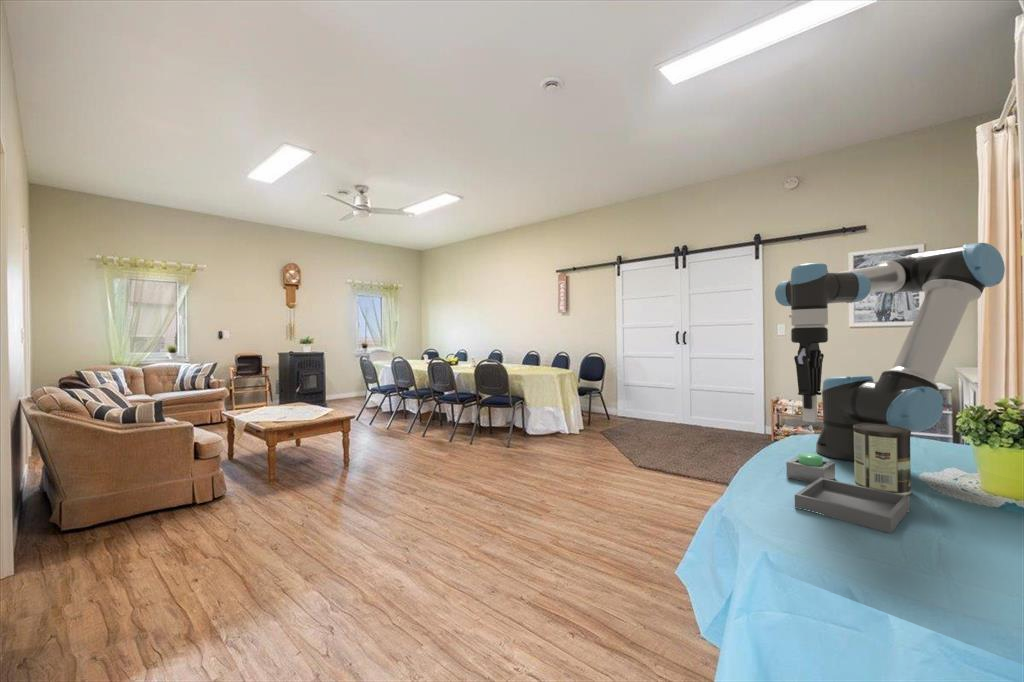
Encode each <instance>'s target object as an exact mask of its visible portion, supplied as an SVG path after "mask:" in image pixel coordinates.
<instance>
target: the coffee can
mask: <svg viewBox="0 0 1024 682" xmlns="http://www.w3.org/2000/svg"><path fill="white" fill-rule="evenodd" d="M853 429H854V461H853V462H854V465H853V467H854V469H853V470H854V483H853V485H858V486H863V487H867V488H872V489H877V490H882V491H886V492H891V493H896V494H901V495H905V496H910V495H911V494H912V488H911V487H912V483H911V482H912V481H911V480H912V479H911V477H912V476H911V475H912V473H911V472H912V471H911V469H912V467H911V434H912V431H911V430H909V429H906V428H903V427H898V426H892V425H883V424H856V425H853Z"/></svg>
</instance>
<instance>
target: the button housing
mask: <svg viewBox="0 0 1024 682" xmlns="http://www.w3.org/2000/svg"><path fill="white" fill-rule="evenodd" d="M785 464H786V465H785V466H786V478H787V477H788V478H787V479H790V478H792V479H791V480H795V479H796V480H795V481H799V480H800V481H799V482H804V481H805V482H804V483H808V482H809V483H810V484H811V483H813V482H814V481H816V480H817V479H819V478H825V479H829V480H835V479H836V462H835V461H830V460H825V459H823V465H822V466H821V467H817V466H812V465H807V464H801V463H799V455H798V456H794V457H793V458H791V459H790V460H788V461H786V462H785Z"/></svg>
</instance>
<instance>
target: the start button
mask: <svg viewBox="0 0 1024 682" xmlns="http://www.w3.org/2000/svg"><path fill="white" fill-rule="evenodd" d="M798 456H799V463H801V464H807V465H812V466H817V467H821V466H822V465H823V460H824V459H823V455H819V454H813V453H809V452H808V453H799V454H798Z"/></svg>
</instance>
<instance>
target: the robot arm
mask: <svg viewBox="0 0 1024 682" xmlns="http://www.w3.org/2000/svg"><path fill="white" fill-rule="evenodd" d="M1005 268H1006V267H1005V263H1004V258H1003V257H1002V254H1001V253H1000V251H999V250H998V249H997V248H996V247H995V246H993V245H992V244H990V243H987V242H978V243H977V242H976V243H965V244H964V245H963V244H962V245H958V246H953V247H952V246H951V247H950V246H949V247H944V248H939V249H938V248H936V249H932V250H925V251H920V252H916V253H912V254H908V255H905V256H904V255H903V256H902V257H898V258H894V259H889V260H883V261H881V262H879V263H877V264H876V265H874V266H869V267H862V268H857V269H849V270H844V271H843V270H842V271H838V272H829V270H828V264H826V263H823V262H813V263H803V264H797V265H794V266H793V267H792V268H791V273H790V279H788V280H784V281H783V280H782V281H781V282H779V283H778V284H777V286H776V288H775V290H774V296H775V300H776V302H777V303H778V304H779V305H780V306H782V307H791V308H790V310H791V311H790V314H789V315H788V316H789V318H791V322H790V323H791V326H794V327H792V328H791V330H790V331H791V332H790V336H791V337H790V339H791V340H790V341H791V342H792V343H796V344H797V343H798V345H799V346H798V350H797V355H794V358H793V359H794V363H795V368H796V369H795V370H796V376H797V377H796V379H797V388H798V389H797V391H798V392H797V395H799V396H802V403H801V404H802V407H801V408H802V412H801V413H802V422H808V423H817V422H818V396H822V399H821V400H822V401H821V402H822V428H821V431H820V432H819V435H818V438H817V440H816V443H815V450H816V452H817V453H818V455H819V454H820V455H821V456H825V457H829V458H833V459H837V460H843V461H849V462H850V461H851V462H852V461H853V462H854V429H853V425H856V424H883V425H892V426H898V427H903V428H906V429H909V430H911V433H920V432H923V431H927V430H930V429H931V428H933V427H934V426H935V425H936V424H937V423H938V422H939V420H940V419H941V418H942V415H943V414H944V407H945V406H944V405H943V404H944V402H945V401H944V398H943V396H942V394H941V393H940V392H939V389H940V387H939V386H938V384H937V383H936V382H935V379H936V377H937V374H938V372H939V370H940V368H941V366H942V364H943V363H942V362H943V361H944V359H945V356H946V354H947V353H948V350H949V348H950V345H951V343H952V341H953V338H954V336H955V335H956V332H957V331H958V328H959V326H960V324H961V321H962V319H963V317H964V314H965V313H966V310H967V308H968V305H969V304H970V303H972V302H975V301H977V300H979V299H980V298H981V297H982V294H983V292H984V290H985V288H992V287H995V286H997V285H999V284H1000V283H1001V282H1002V281H1003V279H1004V277H1005V271H1006V270H1005ZM879 292H880V293H882V294H894V293H902V292H903V293H905V292H907V293H909V292H910V293H911V292H912V293H913V292H915V293H916V292H917V293H918V292H920V293H921V292H924V294H925V297H924V299H923V301H922V302H921V306H920V308H919V309H918V311H917V314H916V316H915V317H914V320H913V323H912V324H911V326H910V328H909V331H908V332H907V335H906V338H905V340H904V342H903V343H902V346H901V348H900V351H899V352H898V355H897V356H896V359H895V361H894V363H893V366H892V367H891V368H890V369H886V370H883V371H882V372H881V375H880V377H879V379H878V381H874V379H873V376H872V375H850V376H847V375H846V376H830V377H829V376H828V377H826V378H825V379H824V380H823V381H822V372H823V361H824V353H822V351H821V348H820V344H823V343H827V342H828V340H829V330H828V329H829V328H827V327H826V326H828V324H829V315H828V313H829V310H828V308H829V307H828V304H837V303H838V304H841V303H846V304H852V303H859V302H861V301H864V300H866V298H867V297H868V296H869V295H870V294H872V293H879ZM821 384H822V389H821Z"/></svg>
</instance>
